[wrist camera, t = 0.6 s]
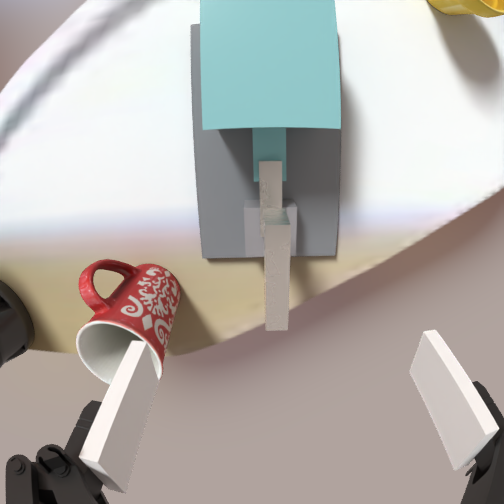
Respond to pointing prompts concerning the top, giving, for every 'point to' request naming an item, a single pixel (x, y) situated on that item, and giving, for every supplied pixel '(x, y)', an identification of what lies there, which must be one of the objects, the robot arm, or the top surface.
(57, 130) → the top surface
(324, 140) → the housing
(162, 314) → the mug
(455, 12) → the plant pot
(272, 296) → the grey flat angled piece
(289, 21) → the cover
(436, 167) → the top surface
